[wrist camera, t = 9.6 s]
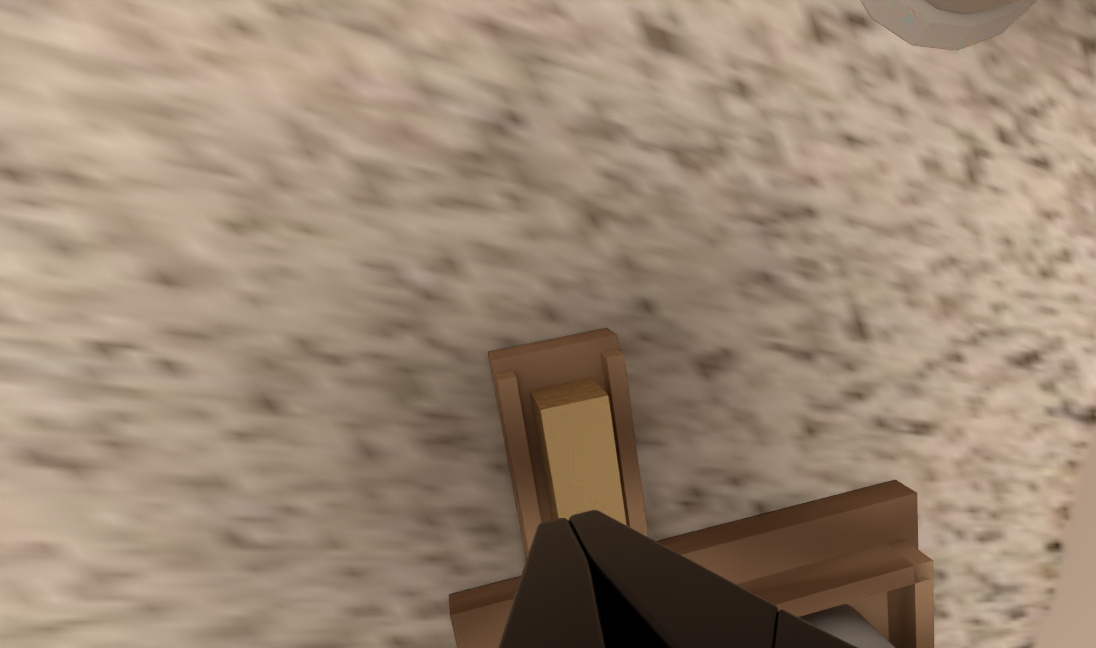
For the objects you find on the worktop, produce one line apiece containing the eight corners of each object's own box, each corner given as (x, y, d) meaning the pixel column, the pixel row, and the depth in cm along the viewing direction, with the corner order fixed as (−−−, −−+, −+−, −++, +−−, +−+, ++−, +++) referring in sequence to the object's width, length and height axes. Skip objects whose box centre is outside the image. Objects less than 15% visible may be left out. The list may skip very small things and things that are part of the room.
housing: (903, 730, 30) (982, 819, 26) (506, 859, 27) (522, 983, 23) (889, 271, 25) (985, 287, 21) (399, 369, 22) (393, 412, 18)
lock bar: (614, 531, 23) (631, 561, 22) (556, 545, 23) (568, 578, 21) (591, 377, 22) (608, 395, 20) (529, 390, 22) (540, 410, 20)
